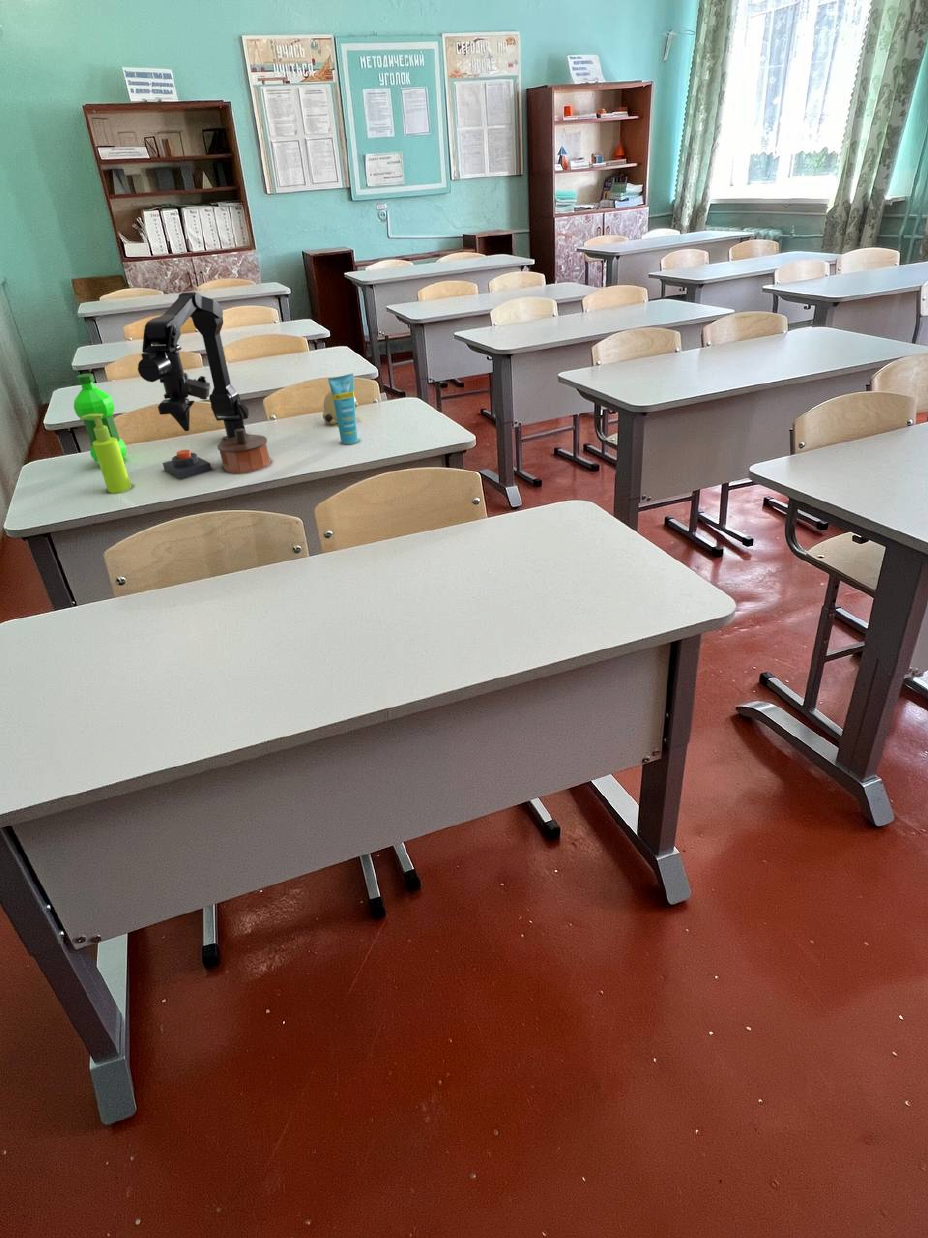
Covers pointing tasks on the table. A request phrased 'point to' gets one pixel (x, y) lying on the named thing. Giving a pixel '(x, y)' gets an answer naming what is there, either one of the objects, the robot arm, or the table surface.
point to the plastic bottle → (96, 410)
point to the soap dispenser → (109, 457)
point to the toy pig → (331, 409)
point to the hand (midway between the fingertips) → (187, 430)
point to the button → (183, 454)
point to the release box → (187, 466)
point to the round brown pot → (246, 460)
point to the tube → (344, 407)
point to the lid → (242, 442)
